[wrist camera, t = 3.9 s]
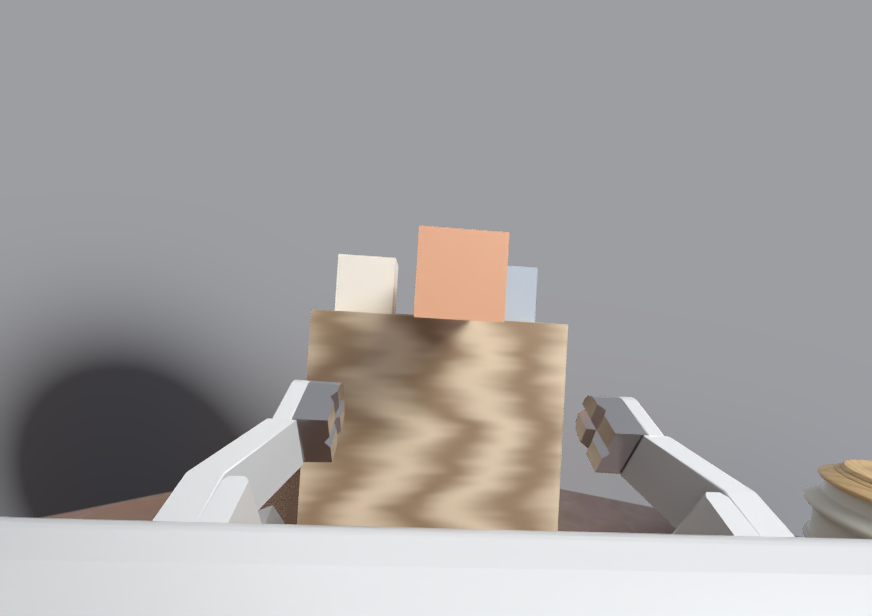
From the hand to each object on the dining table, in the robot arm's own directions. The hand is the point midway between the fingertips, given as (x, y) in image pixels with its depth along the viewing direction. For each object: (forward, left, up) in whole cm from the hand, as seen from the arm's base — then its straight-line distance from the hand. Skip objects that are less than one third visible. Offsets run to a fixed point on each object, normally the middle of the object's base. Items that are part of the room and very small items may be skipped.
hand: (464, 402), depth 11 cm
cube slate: (+7, +21, +3) cm, 22 cm away
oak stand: (0, +18, -23) cm, 29 cm away
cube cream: (-6, +21, +3) cm, 22 cm away
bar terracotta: (0, +14, +3) cm, 14 cm away
